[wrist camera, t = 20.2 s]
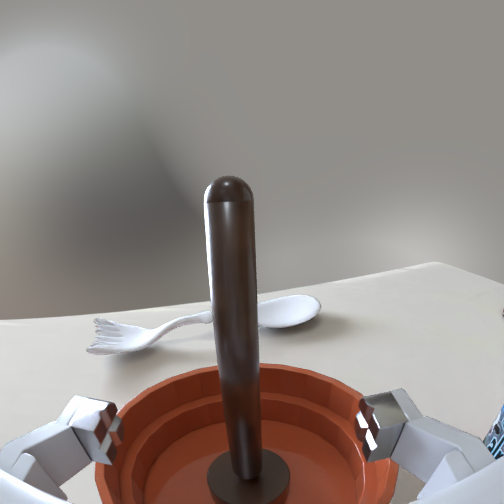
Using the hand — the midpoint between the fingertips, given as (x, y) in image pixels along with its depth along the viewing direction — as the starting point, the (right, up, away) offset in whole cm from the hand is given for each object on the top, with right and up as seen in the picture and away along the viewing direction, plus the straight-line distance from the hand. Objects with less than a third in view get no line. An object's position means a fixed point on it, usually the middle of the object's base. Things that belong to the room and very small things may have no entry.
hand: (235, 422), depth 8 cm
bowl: (0, -11, +7) cm, 13 cm away
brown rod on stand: (0, -10, +7) cm, 12 cm away
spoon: (-5, -6, +30) cm, 31 cm away
